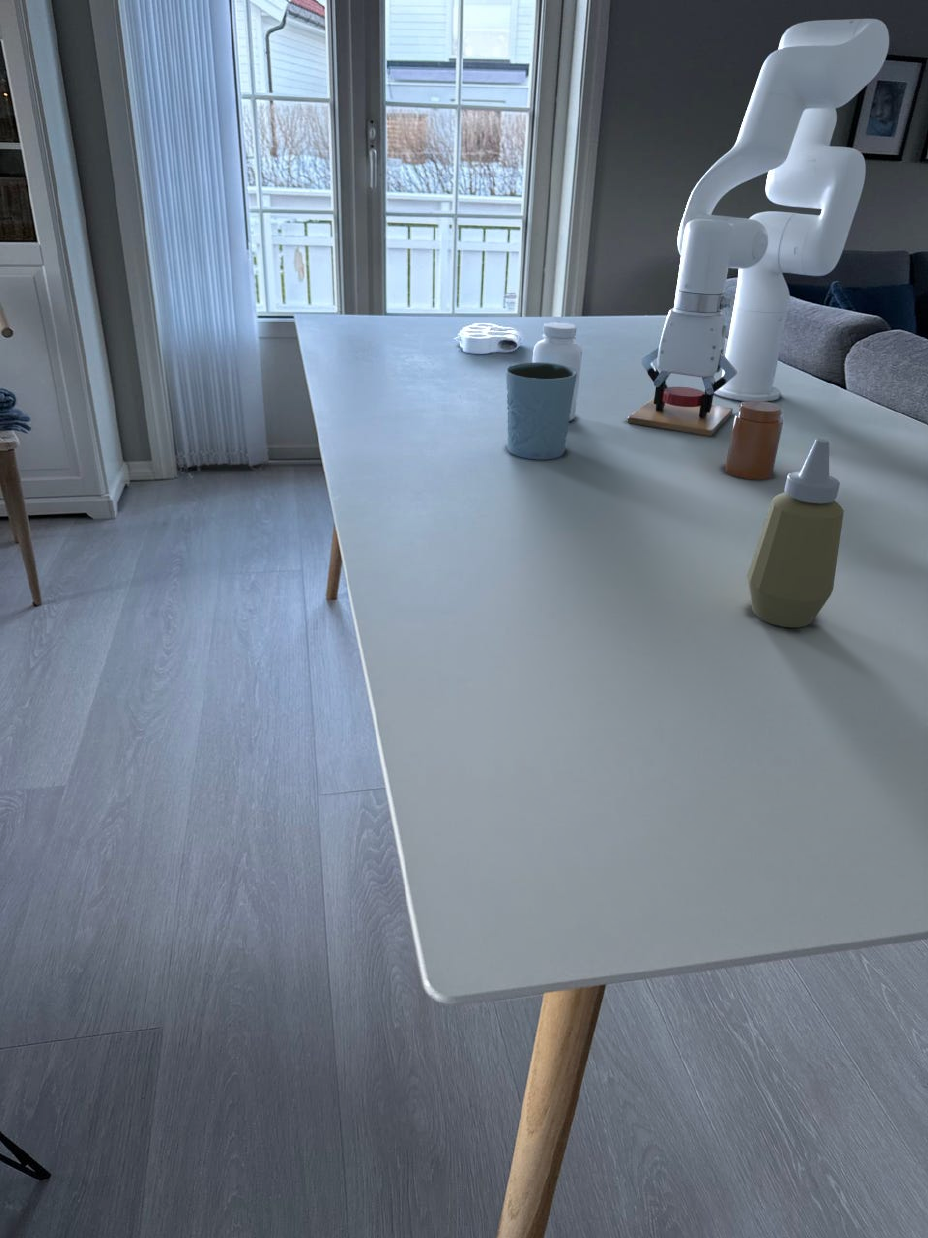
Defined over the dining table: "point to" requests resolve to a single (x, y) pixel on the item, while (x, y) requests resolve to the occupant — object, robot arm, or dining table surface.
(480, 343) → the white flat molded block
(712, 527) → the dining table surface
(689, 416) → the wooden board
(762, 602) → the squeeze bottle
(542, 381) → the blue embossed cup
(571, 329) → the pill bottle
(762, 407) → the jam jar
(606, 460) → the dining table surface
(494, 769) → the dining table surface
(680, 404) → the jam lid
